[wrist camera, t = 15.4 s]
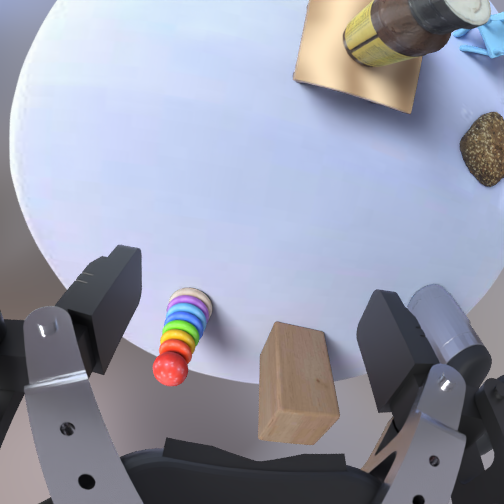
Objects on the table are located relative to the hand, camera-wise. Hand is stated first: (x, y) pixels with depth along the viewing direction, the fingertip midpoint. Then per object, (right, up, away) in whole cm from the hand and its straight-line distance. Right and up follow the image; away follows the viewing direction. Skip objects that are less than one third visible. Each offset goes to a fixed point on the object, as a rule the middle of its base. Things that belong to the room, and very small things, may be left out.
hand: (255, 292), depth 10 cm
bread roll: (+41, +19, +30) cm, 54 cm away
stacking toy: (-11, -8, +46) cm, 48 cm away
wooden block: (+8, -17, +50) cm, 53 cm away
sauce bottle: (+12, +24, +17) cm, 32 cm away
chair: (+36, +36, +21) cm, 55 cm away
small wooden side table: (+13, +29, +25) cm, 40 cm away
